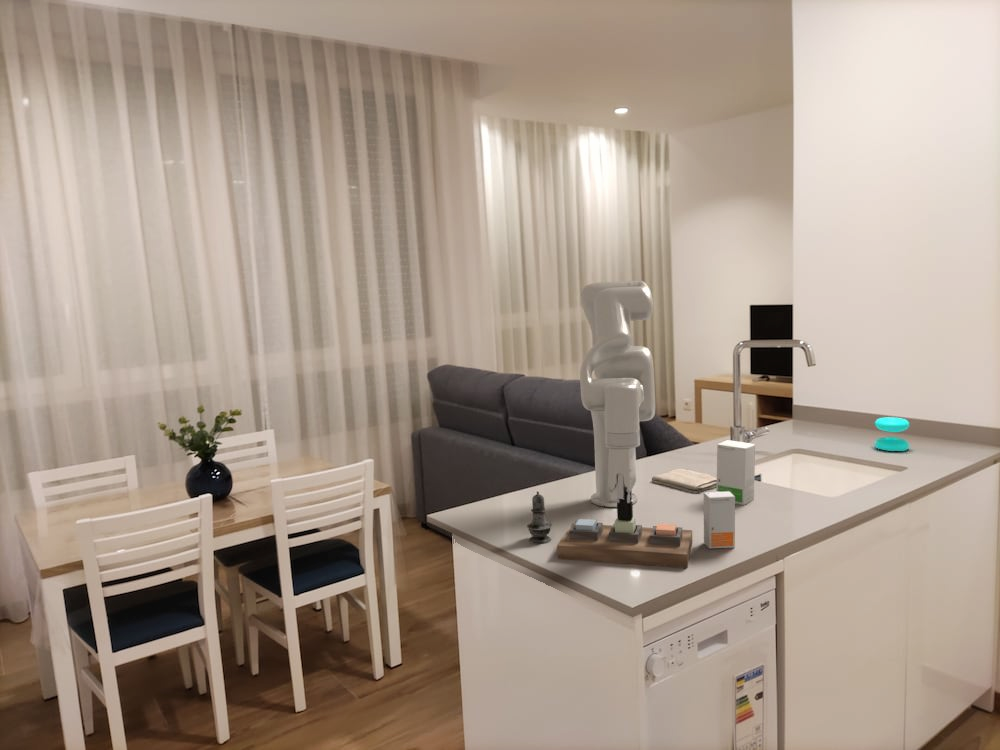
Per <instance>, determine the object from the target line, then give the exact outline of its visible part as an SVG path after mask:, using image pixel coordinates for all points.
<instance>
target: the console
mask: <svg viewBox="0 0 1000 750" xmlns="http://www.w3.org/2000/svg"><path fill="white" fill-rule="evenodd" d="M577 522H578V520H577V521H575V522H573V523H571V525H570V526H569V528H568V529H567V531H566V532H565V533H564V535H563V536H562V537H561V539H560V541H559V542H558V543H557V545H556V547H557V553H556V554H557V559H563V560H576V561H586V562H587V561H590V562H600V561H601V562H603V563H605V562H606V563H614V562H621V563H620V564H627V563H635V564H634V565H640V564H647V565H646V566H653V565H659V566H658V567H667V566H669V567H671V568H683V569H688V567H689V561H690V556H691V552H692V547H693V530H692V529H683V527H679V526H676V536H668V535H656V528H657V525H653V526H652V527H644V526H643V525H642V524H636V528H635V531H634V533H620V532H615V523H613V525H608V524H607V525H606V524H603V522H596V529H595V531H587V530H576V528H575V524H576V523H577Z"/></svg>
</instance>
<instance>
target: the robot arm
mask: <svg viewBox="0 0 1000 750" xmlns="http://www.w3.org/2000/svg"><path fill="white" fill-rule="evenodd" d="M580 292H581V293H580V298H581V299H580V301H581V306H582V309H583V312H584V315H585V317H586V320H587V321H588V324H589V327H590V330H591V338H592V339H591V340H592V341H591V342H592V344H591V345H592V347H591V348H590V349H589V350H588V351H587V353H586V354H585V356H584V358H583V360H582V362H581V365H580V371H579V381H580V384H579V385H580V398H581V402H582V406H583V408H584V409H586V410H587V411H590V414H591V420H592V426H593V427H592V428H593V437H594V438H593V440H594V444H593V445H594V463H595V464H594V467H595V468H594V469H595V493H593V494H592V495H591V496H590V502H591V503H593V504H594V505H596V506H600V507H604V506H605V507H606V508H616V513H617V514H616V518H618V520H629V521H631V520H632V518H633V517H634V514H633V513H634V510H633V509H634V508H633V505H634V504H636V502H637V501H638V497H637V495H636V493H633V488H634V486H635V485H636V482H637V454H636V453H637V452H636V448H638V447H640V445H641V433H640V432H641V431H640V428H641V427H640V422H647V421H650V420H652V419H653V418H654V417H655V414H656V391H655V389H656V388H655V370H654V369H655V367H654V359H653V355H652V352H651V351H650V349H649V348H648V347H646V346H643V345H633V346H632V344H633V337H632V329H631V322H632V321H646V320H650V319H651V317H652V316H653V311H654V298H653V294H652V292H651V289H650V287H649V286H648V284H647V283H646V282H645V281H643V280H620V281H619V280H618V281H599V282H598V281H597V282H593V283H589V284H586V285H585V286H584V287H583V288H582V289H581V291H580ZM593 371H594V376H595V378H592V374H593ZM605 507H604V508H605Z"/></svg>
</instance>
